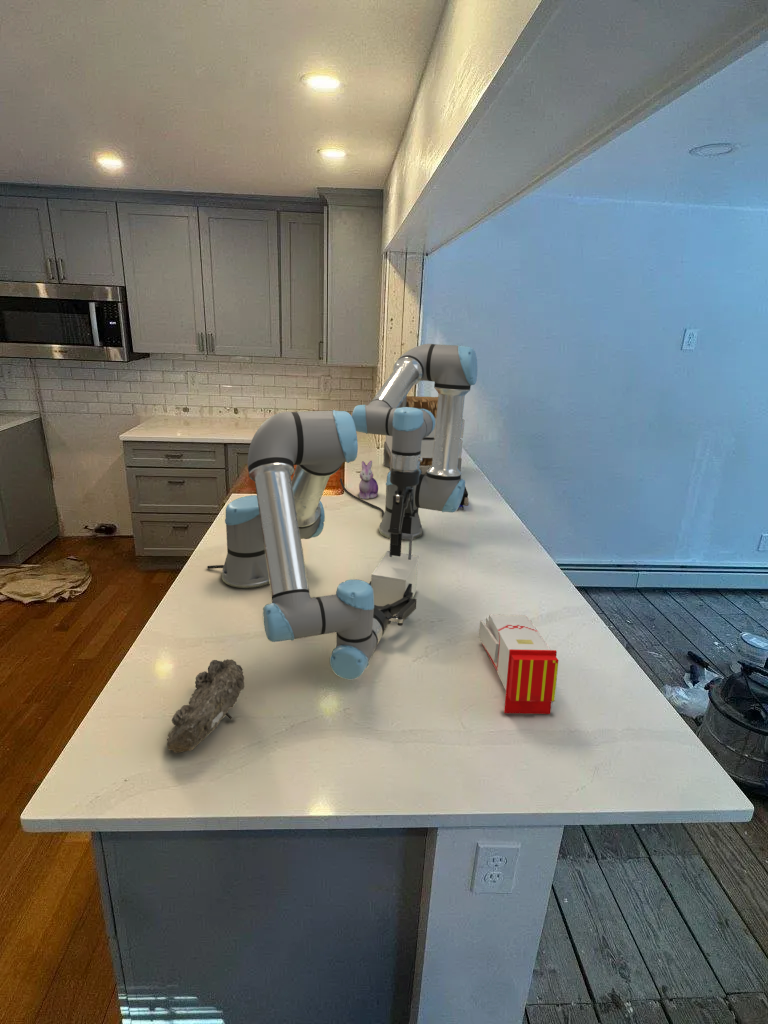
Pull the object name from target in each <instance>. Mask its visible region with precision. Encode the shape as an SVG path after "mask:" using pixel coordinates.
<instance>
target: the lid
mask: <svg viewBox="0 0 768 1024" xmlns="http://www.w3.org/2000/svg"><path fill="white" fill-rule="evenodd" d="M413 536H414V535H413V534H406V533H402V539H407V540H406V541H408V553H405V552H401V556H393V555H390V550H387V551H386V552H385V554H384V555H383V556H382V558H381V559H380V561H379V563H378V564H377V565H376V567H375V568H374V569H373V571H372V573H371V575H370V576H371V577H373V578H380V579H386V580H392V581H398V582H405V583H406V581H407V580H408V578H409V576H410V574H411V572H412V570H413V568H414V566H415V564H416V563H417V561H418V562H419V559H420V555H418V554H412V551H413V540H414V539H413ZM390 547H391V533H390V538H389V548H390ZM371 577H370V578H371Z"/></svg>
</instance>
